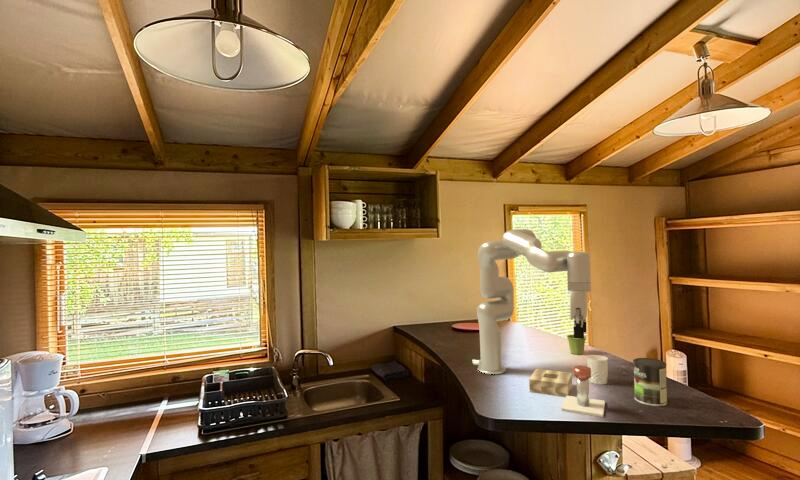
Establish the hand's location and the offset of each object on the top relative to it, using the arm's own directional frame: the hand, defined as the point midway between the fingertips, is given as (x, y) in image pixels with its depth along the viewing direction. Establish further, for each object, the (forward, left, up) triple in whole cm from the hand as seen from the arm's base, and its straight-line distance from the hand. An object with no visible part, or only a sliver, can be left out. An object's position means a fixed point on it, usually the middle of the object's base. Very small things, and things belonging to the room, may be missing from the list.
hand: (580, 335), depth 147 cm
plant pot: (-9, +70, -26) cm, 75 cm away
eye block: (-13, +14, -25) cm, 32 cm away
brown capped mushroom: (0, 0, -25) cm, 25 cm away
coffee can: (+21, +15, -26) cm, 36 cm away
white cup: (+3, +29, -26) cm, 39 cm away
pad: (0, 0, -25) cm, 25 cm away
